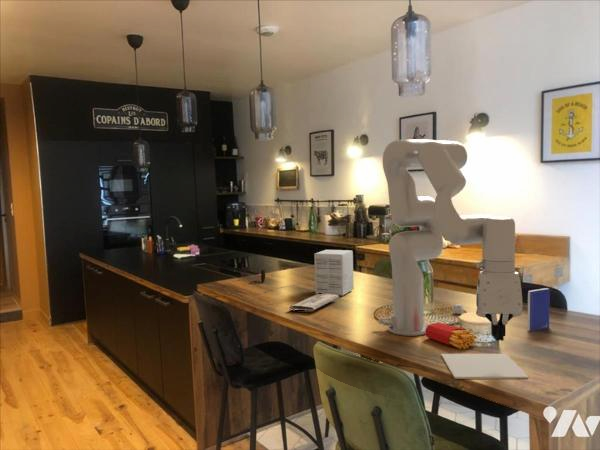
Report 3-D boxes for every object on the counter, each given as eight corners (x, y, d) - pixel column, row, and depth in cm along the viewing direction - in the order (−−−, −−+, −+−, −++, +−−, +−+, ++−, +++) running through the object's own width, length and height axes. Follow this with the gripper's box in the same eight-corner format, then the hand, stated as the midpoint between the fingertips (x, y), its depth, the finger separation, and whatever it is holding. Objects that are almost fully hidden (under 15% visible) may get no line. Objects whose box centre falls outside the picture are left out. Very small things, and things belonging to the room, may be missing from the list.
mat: (454, 378, 120) (454, 376, 120) (441, 355, 135) (441, 353, 135) (528, 378, 118) (528, 376, 118) (506, 355, 134) (506, 353, 134)
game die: (465, 314, 176) (465, 305, 176) (454, 314, 176) (454, 306, 176) (460, 311, 180) (460, 303, 180) (450, 312, 180) (450, 304, 179)
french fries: (443, 320, 154) (478, 330, 143) (443, 334, 154) (479, 344, 143) (421, 326, 149) (456, 336, 138) (422, 340, 149) (457, 351, 138)
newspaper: (311, 298, 209) (311, 292, 209) (338, 301, 203) (338, 294, 203) (284, 311, 189) (284, 304, 189) (313, 314, 183) (312, 307, 183)
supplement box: (326, 287, 228) (325, 249, 227) (354, 289, 222) (353, 250, 221) (314, 293, 216) (313, 253, 215) (343, 295, 210) (342, 254, 209)
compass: (247, 283, 242) (247, 269, 241) (263, 282, 244) (263, 267, 243) (250, 287, 234) (249, 271, 234) (267, 285, 236) (266, 270, 236)
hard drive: (549, 327, 158) (550, 288, 156) (531, 331, 154) (531, 291, 153) (545, 326, 159) (546, 287, 158) (526, 330, 156) (527, 290, 155)
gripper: (471, 269, 121) (471, 344, 123) (535, 268, 120) (534, 343, 122) (463, 264, 129) (464, 334, 130) (524, 263, 128) (523, 334, 129)
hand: (498, 338), depth 126 cm, fingers closed
